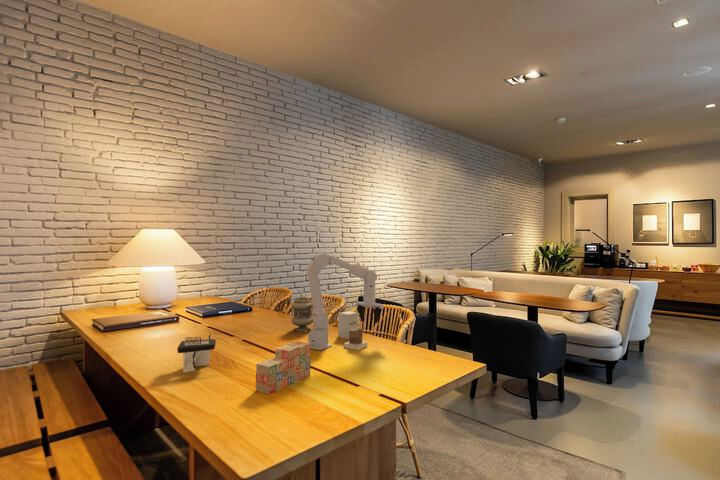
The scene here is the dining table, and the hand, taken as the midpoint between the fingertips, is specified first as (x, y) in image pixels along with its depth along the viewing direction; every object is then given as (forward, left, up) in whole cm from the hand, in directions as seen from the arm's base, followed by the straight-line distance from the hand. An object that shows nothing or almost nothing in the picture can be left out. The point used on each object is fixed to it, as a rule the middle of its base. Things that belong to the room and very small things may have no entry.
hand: (369, 322), depth 193 cm
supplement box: (+5, +16, -11) cm, 20 cm away
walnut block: (-9, +2, -8) cm, 12 cm away
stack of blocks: (-62, -2, -11) cm, 63 cm away
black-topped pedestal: (-69, +37, -11) cm, 79 cm away
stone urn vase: (+3, +45, -11) cm, 46 cm away
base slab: (-9, +2, -10) cm, 14 cm away
